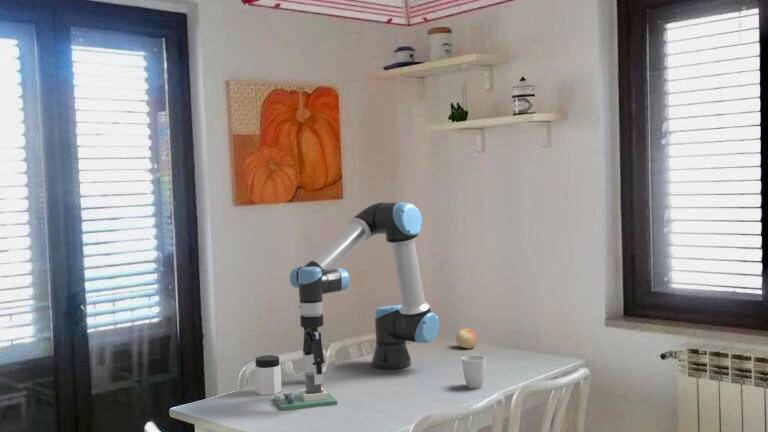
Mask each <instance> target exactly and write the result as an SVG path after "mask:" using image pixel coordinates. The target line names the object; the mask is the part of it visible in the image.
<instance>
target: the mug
mask: <svg viewBox="0 0 768 432" xmlns="http://www.w3.org/2000/svg"><path fill="white" fill-rule="evenodd" d="M311 355H313V354H311ZM305 356H306V355H305V354H304V352H303V351H302V367H303V383H304V384H306V371H305ZM323 356H324V364H323V373H326V371H327V368H328V365H329V356H328V353H327V352H326V349H323ZM313 362H314V357H313Z"/></svg>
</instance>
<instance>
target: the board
mask: <svg viewBox="0 0 768 432" xmlns="http://www.w3.org/2000/svg"><path fill="white" fill-rule="evenodd" d="M321 388H322V391H321V393H317V394H308V395H307V394H306V388H304V389H299V392H298V393H292V392H289V393H282V394H280V395H274V396H273V401H274V402H275V403H276V405H277V406H278V407H279V408H280V410H281V412H283V411H291V410H301V409H309V408H317V407H326V406H335V405H338V400H337V399H336V398H335V397H334V396H333V395H331V393H329V392H328V390H325V389H324V387H322V386H321Z"/></svg>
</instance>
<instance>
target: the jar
mask: <svg viewBox="0 0 768 432" xmlns="http://www.w3.org/2000/svg"><path fill="white" fill-rule="evenodd" d="M254 392H255V393H256V394H258V395H259V396H273V395H274V396H276V395H277V394H279V393H281V392H282V365H281V364H280V356H278V355H274V354H273V355H272V354H268V355H260V356H257V357H255V365H254Z"/></svg>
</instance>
